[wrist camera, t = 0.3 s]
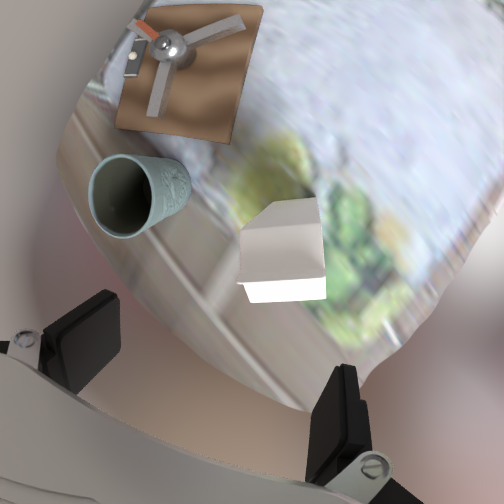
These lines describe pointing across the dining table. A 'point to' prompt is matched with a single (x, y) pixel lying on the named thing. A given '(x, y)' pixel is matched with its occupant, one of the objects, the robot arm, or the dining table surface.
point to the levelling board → (194, 75)
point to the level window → (135, 64)
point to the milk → (283, 253)
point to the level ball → (132, 55)
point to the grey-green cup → (136, 192)
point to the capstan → (177, 53)
